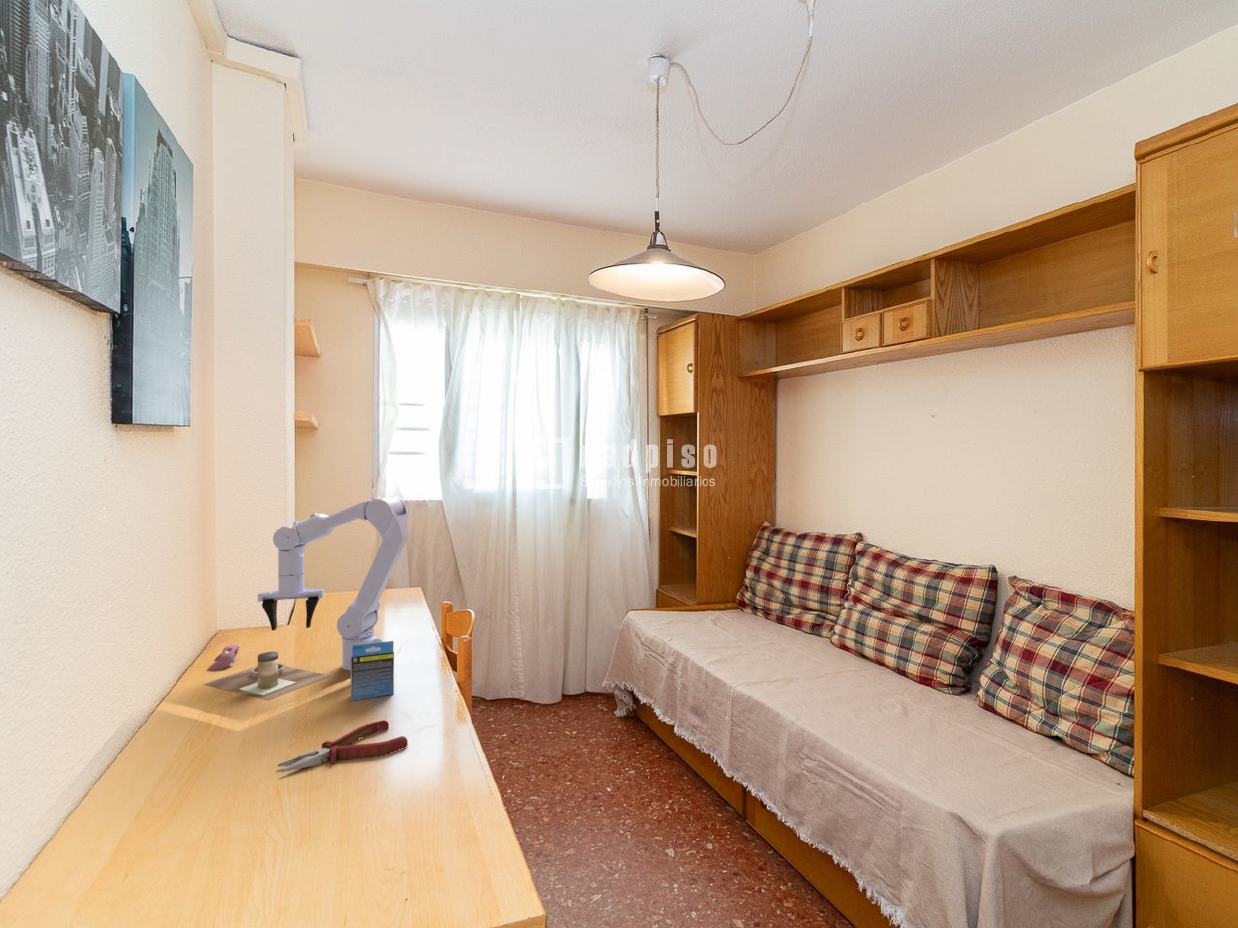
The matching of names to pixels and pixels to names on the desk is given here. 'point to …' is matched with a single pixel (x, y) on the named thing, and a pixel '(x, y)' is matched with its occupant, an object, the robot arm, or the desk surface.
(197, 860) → the desk surface
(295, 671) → the walnut board
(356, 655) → the label tape box
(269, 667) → the beech pin
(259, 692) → the sage pad
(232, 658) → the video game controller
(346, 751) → the pliers
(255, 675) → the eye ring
